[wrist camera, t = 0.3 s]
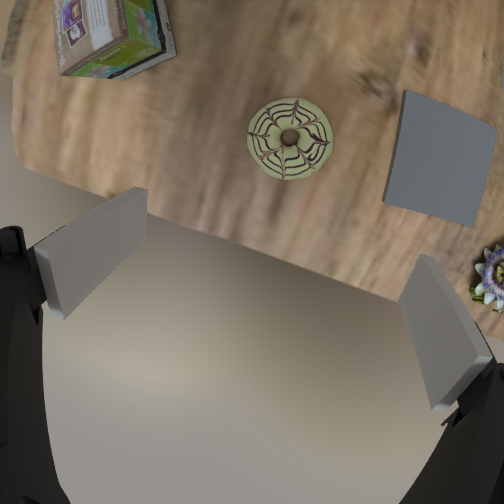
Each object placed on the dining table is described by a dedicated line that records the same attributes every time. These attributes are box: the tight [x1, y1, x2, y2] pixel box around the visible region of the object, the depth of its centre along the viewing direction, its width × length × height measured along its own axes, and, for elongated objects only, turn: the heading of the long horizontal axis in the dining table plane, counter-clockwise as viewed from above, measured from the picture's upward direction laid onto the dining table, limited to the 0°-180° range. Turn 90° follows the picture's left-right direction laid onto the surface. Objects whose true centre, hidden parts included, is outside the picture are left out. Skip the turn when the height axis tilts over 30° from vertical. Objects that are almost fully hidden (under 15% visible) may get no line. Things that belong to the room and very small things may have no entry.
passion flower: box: [469, 244, 504, 314], centre depth 34 cm, size 11×11×12 cm
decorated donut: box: [247, 97, 333, 180], centre depth 35 cm, size 10×11×4 cm
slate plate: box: [382, 90, 497, 227], centre depth 32 cm, size 16×16×1 cm
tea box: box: [53, 0, 176, 80], centre depth 25 cm, size 15×10×15 cm
